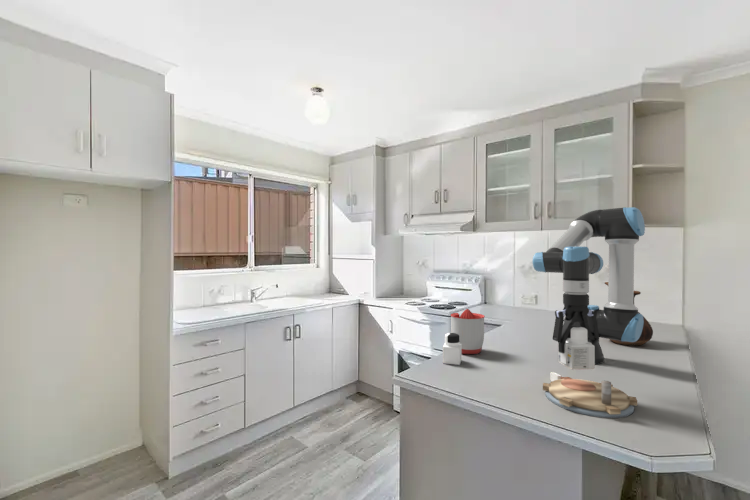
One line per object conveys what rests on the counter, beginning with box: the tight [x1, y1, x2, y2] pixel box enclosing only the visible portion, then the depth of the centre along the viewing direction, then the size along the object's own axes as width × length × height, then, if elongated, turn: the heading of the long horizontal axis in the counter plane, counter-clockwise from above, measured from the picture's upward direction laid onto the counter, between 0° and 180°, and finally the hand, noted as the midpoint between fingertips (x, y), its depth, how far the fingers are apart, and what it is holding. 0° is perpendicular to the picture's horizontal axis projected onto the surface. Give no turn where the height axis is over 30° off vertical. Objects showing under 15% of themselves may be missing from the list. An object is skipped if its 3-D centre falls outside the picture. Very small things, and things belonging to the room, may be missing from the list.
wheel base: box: [545, 371, 635, 419], centre depth 116 cm, size 29×24×3 cm
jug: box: [604, 281, 654, 346], centre depth 184 cm, size 22×22×30 cm
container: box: [557, 325, 596, 371], centre depth 119 cm, size 8×8×13 cm
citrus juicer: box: [450, 308, 485, 355], centre depth 170 cm, size 16×17×20 cm
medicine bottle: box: [442, 332, 463, 366], centre depth 153 cm, size 7×7×12 cm
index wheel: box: [542, 376, 638, 414], centre depth 114 cm, size 25×24×8 cm
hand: (575, 362), depth 119 cm, fingers closed on container, 8 cm apart
